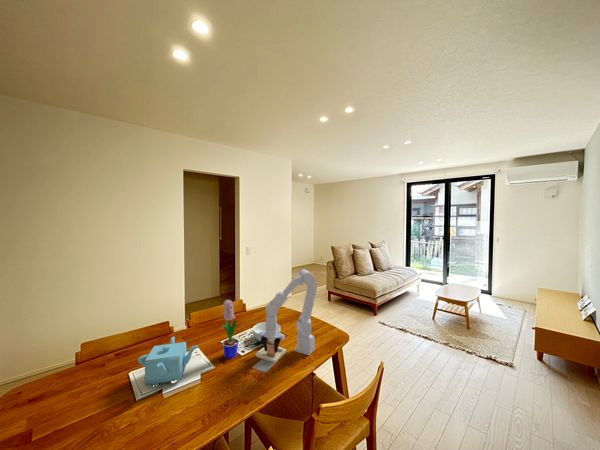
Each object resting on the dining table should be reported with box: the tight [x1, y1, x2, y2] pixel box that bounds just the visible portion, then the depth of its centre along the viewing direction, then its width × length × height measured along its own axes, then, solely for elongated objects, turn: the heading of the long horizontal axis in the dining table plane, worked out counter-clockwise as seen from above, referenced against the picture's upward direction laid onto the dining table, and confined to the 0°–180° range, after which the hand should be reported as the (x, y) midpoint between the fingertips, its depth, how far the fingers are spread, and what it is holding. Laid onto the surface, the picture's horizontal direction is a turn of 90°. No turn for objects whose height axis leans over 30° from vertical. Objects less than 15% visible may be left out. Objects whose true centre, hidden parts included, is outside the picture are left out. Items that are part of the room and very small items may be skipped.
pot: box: [266, 340, 276, 357], centre depth 125 cm, size 5×5×6 cm
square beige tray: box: [255, 346, 287, 364], centre depth 125 cm, size 12×11×2 cm
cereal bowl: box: [252, 321, 281, 342], centre depth 142 cm, size 17×17×7 cm
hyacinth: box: [221, 299, 242, 359], centre depth 124 cm, size 9×10×30 cm
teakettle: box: [137, 336, 199, 387], centre depth 107 cm, size 19×19×15 cm
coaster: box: [252, 358, 276, 374], centre depth 115 cm, size 8×8×1 cm
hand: (271, 351), depth 125 cm, fingers closed on pot, 5 cm apart
